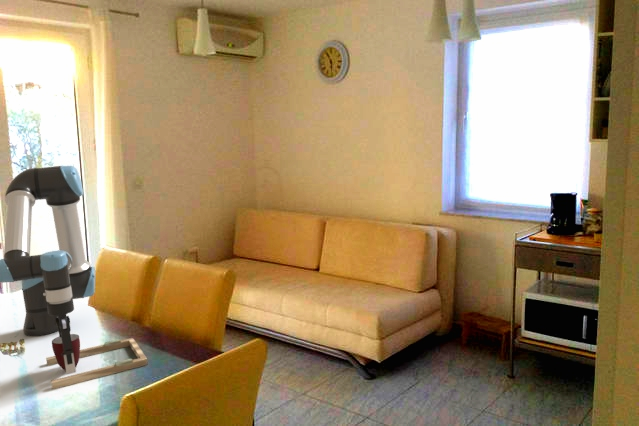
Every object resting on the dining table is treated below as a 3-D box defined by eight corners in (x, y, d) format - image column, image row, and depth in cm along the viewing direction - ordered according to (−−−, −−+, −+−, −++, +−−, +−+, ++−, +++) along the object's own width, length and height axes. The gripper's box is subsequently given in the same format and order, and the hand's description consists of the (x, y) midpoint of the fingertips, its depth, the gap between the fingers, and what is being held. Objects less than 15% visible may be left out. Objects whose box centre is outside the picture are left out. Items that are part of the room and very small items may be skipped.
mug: (83, 372, 177) (79, 342, 176) (55, 378, 174) (51, 348, 172) (82, 360, 187) (78, 332, 185) (56, 366, 184) (51, 337, 182)
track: (47, 363, 187) (45, 356, 187) (133, 343, 201) (132, 336, 200) (52, 389, 168) (51, 381, 167) (147, 364, 181) (146, 356, 181)
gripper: (44, 294, 185) (53, 358, 188) (49, 312, 165) (59, 383, 168) (68, 290, 188) (77, 352, 192) (76, 306, 169) (86, 376, 172)
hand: (69, 366), depth 180 cm, fingers closed on mug, 10 cm apart
